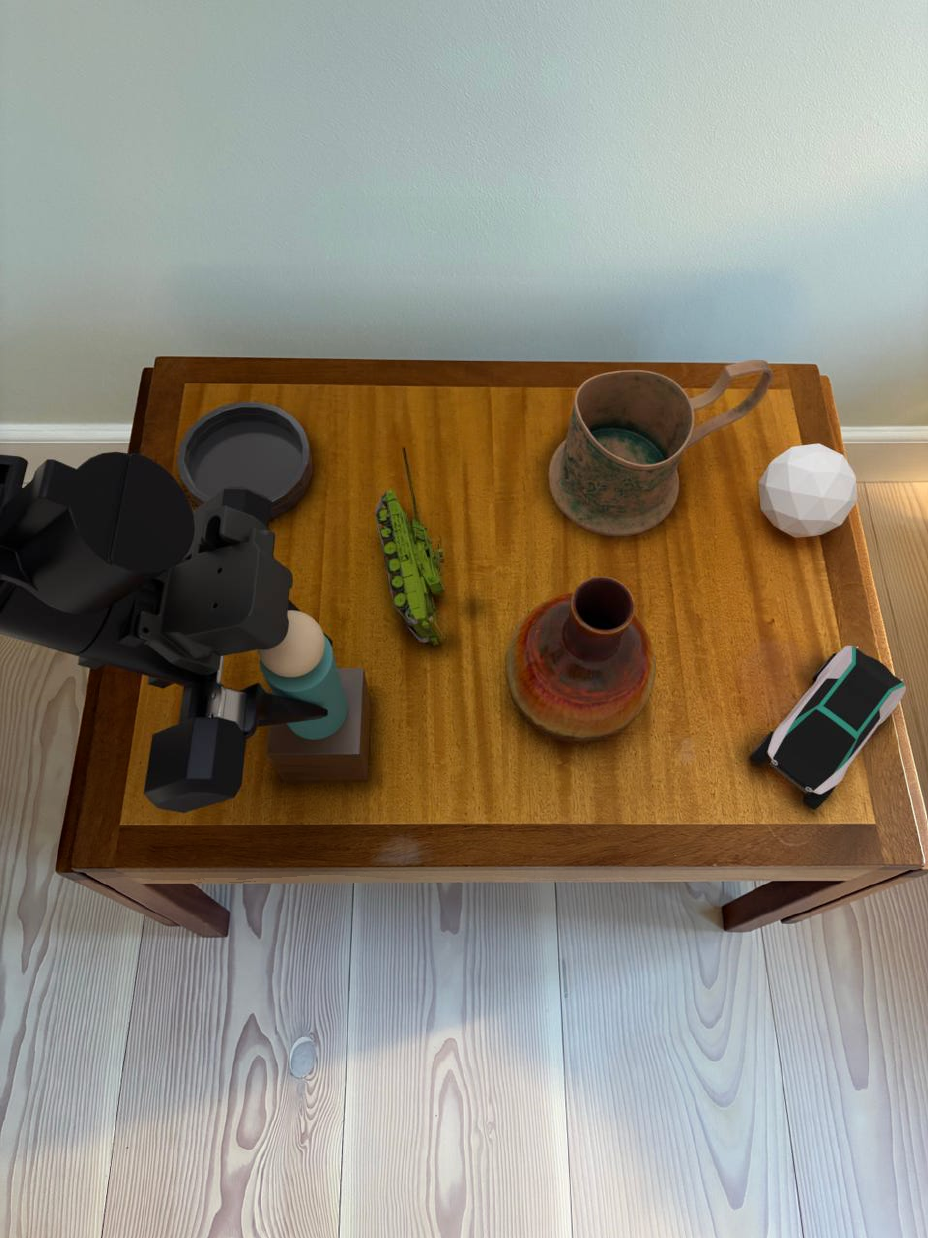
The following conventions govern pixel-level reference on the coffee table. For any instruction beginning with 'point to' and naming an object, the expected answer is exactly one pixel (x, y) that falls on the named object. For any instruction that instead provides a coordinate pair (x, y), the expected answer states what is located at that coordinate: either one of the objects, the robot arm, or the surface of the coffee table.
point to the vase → (581, 663)
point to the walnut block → (328, 741)
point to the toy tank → (411, 565)
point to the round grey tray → (247, 455)
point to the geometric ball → (807, 490)
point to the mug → (635, 446)
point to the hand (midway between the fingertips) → (326, 680)
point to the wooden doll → (306, 675)
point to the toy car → (831, 723)
